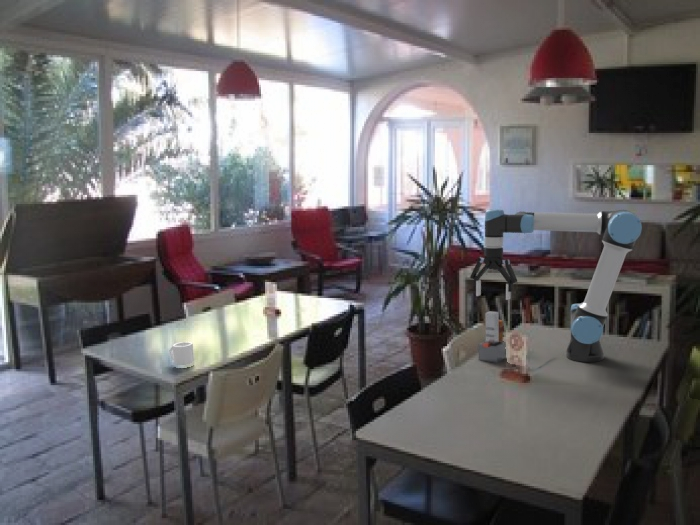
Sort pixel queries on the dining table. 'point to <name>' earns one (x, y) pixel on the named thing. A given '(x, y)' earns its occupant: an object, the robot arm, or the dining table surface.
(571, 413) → the dining table surface
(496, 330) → the column
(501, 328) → the mug
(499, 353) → the stand base
